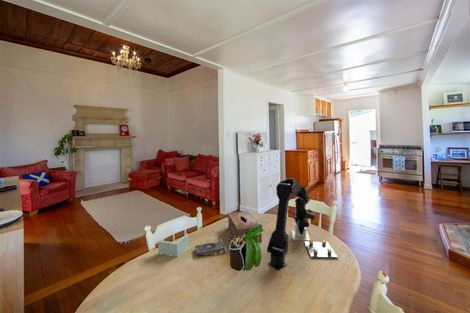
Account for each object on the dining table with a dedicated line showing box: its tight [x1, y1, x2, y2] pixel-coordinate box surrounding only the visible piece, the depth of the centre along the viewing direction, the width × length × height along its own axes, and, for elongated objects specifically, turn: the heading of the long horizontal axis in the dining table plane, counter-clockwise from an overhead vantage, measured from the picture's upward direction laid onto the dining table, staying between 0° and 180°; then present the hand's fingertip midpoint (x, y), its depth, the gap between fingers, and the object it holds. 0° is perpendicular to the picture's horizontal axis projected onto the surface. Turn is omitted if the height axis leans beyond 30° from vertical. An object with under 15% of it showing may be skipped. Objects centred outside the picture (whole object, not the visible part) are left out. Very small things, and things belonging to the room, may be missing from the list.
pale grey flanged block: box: [291, 225, 311, 242], centre depth 133 cm, size 12×10×6 cm
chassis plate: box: [303, 239, 338, 260], centre depth 116 cm, size 15×13×3 cm
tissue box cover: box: [227, 210, 263, 243], centre depth 138 cm, size 26×14×10 cm, turn 15°
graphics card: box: [194, 238, 228, 256], centre depth 121 cm, size 17×4×12 cm
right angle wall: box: [157, 233, 190, 257], centre depth 122 cm, size 12×12×8 cm
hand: (300, 231), depth 133 cm, fingers open, 6 cm apart
